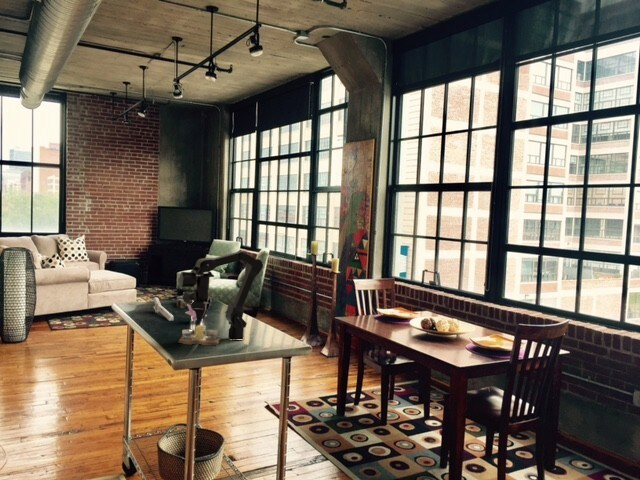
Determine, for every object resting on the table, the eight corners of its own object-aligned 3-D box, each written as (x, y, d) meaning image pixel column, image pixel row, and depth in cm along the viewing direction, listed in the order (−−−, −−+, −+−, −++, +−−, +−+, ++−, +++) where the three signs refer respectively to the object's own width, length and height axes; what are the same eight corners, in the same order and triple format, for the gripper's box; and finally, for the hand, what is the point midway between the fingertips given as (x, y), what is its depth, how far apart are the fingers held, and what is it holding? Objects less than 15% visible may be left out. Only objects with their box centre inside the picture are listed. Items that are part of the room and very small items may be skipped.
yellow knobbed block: (205, 336, 247) (206, 325, 247) (203, 339, 242) (204, 328, 242) (196, 336, 247) (196, 325, 247) (194, 338, 242) (194, 327, 241)
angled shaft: (192, 337, 246) (192, 328, 245) (194, 338, 243) (195, 330, 243) (181, 338, 243) (181, 329, 243) (183, 339, 240) (184, 330, 240)
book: (200, 303, 342) (200, 295, 342) (203, 311, 318) (203, 302, 318) (176, 303, 338) (176, 295, 337) (177, 310, 314) (178, 302, 314)
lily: (207, 327, 279) (211, 310, 284) (187, 320, 273) (192, 302, 277) (195, 330, 288) (200, 313, 292) (176, 323, 281) (181, 305, 285)
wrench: (169, 326, 284) (151, 309, 308) (173, 326, 285) (154, 309, 309) (171, 311, 283) (152, 296, 307) (174, 311, 284) (156, 296, 308)
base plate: (220, 339, 250) (221, 327, 250) (216, 345, 239) (217, 333, 239) (183, 337, 250) (184, 326, 249) (178, 343, 239) (178, 331, 238)
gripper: (188, 283, 252) (186, 316, 253) (180, 288, 233) (178, 324, 234) (212, 284, 253) (210, 317, 253) (205, 290, 234) (203, 325, 235)
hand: (200, 321), depth 244 cm, fingers open, 9 cm apart
